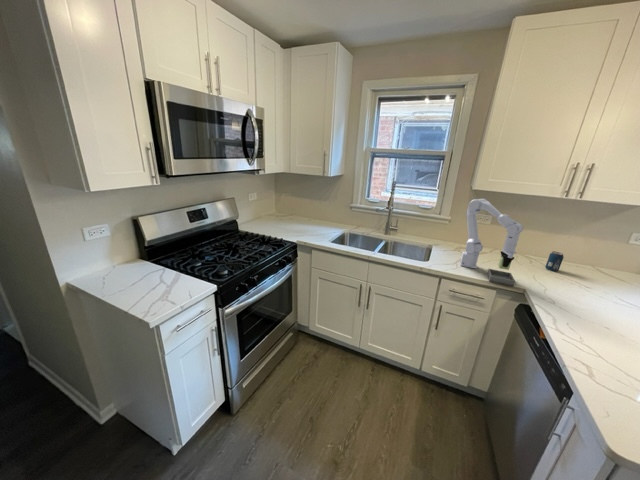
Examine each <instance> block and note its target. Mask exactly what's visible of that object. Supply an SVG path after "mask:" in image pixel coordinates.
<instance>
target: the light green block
mask: <svg viewBox="0 0 640 480" xmlns="http://www.w3.org/2000/svg"><path fill="white" fill-rule="evenodd" d="M511 264H512V261H511V262H510V264H509V265H508V267H503V257H502V256H501V255H500V258H499V262H498V264H497V265H498V268H499V269H501V270H507V271H509V269H510V267H511Z"/></svg>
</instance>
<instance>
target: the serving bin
mask: <svg viewBox="0 0 640 480" xmlns="http://www.w3.org/2000/svg"><path fill="white" fill-rule="evenodd" d="M486 276H487V279H488V282H490V283H494V284H498V285H504V286H509V287H512V288H513V287H515V283H516V280H515V277H513V274H512V272H507V271H503V270H497V269H493V268H487V271H486Z"/></svg>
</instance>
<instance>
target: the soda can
mask: <svg viewBox="0 0 640 480" xmlns="http://www.w3.org/2000/svg"><path fill="white" fill-rule="evenodd" d="M563 260H564V253H562V252H559V251H551V252H550V253H549V255H548V259H547V261H546V263H545V265H544V266H545V269H546V270H547V271H549V270H550V272H555V273H556V272H558V271H560V268H561V265H562V263H563Z"/></svg>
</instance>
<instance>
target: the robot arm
mask: <svg viewBox="0 0 640 480" xmlns="http://www.w3.org/2000/svg"><path fill="white" fill-rule="evenodd" d="M480 211H487V212H488V214H491V215H492V216H494V217H495V218H496V219H497V221H496V222H498V223H499V224H500V225H501V226H502V227H504V228H505V229H506V232H507V234H506V237H505V240H504V244H503V247H502V249H501V251H499V252H500V257H501V256H502V257H503V267H508V265H509V264H510V262H511V263H512V261H513V260H514V259H515V257H514V255H515V254H517V251H515V250H516V248H517V245H518V242H519V238H520V235H521V233H522V232H523V231H524V226H523V225H522V223H520V222H517V221H516V220H514V219H513V218H511V215H510V214H506V213H503V214H502V213H501V212H500V211H499V210H498V209H497V208H496V207H495V206H494V205H493V204H492V203H491V202H490V201H489V200H487V199H486V198H477V199H476V198H474V199H472V200H471V201H469V202H468V206H467V209H466V224H467V234H468V235H467V236H468V237H467V238H468V239H467V241H466V244H465V251H462V254H461V258H460V260H459V263H460V266H461V267H467V268H471V269H475V270H477V268H478V267H477V263H478V259H479V255H480V252H482V251H483V249H484V247H483V244H482V241H481V239H480V238H479V232H478V230H479V229H478V220H477V214H478V213H479V212H480ZM510 265H511V264H510Z"/></svg>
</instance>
